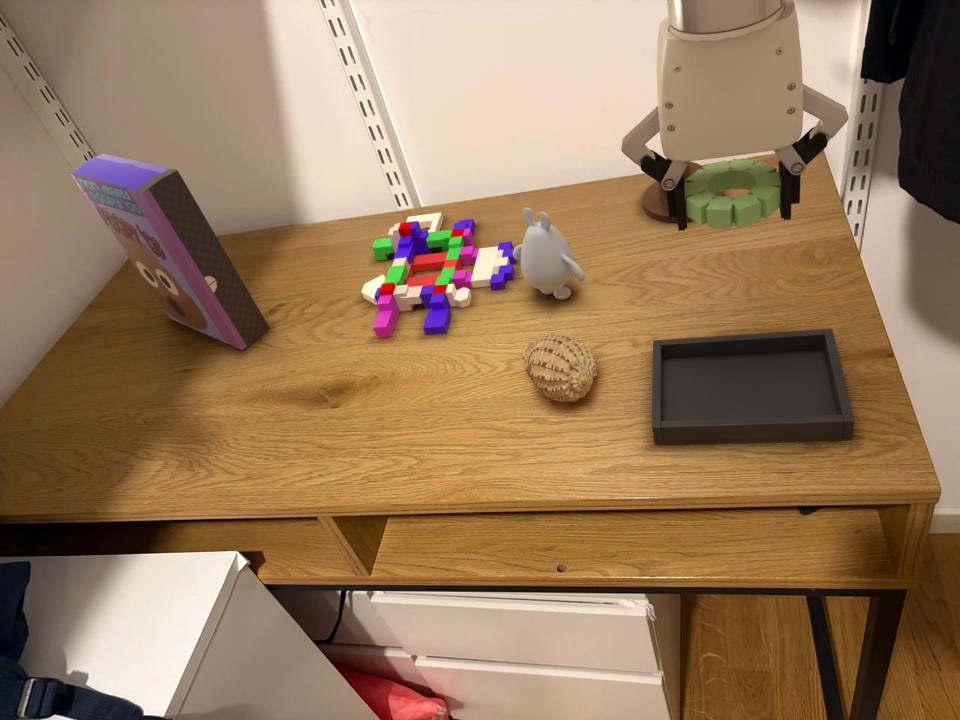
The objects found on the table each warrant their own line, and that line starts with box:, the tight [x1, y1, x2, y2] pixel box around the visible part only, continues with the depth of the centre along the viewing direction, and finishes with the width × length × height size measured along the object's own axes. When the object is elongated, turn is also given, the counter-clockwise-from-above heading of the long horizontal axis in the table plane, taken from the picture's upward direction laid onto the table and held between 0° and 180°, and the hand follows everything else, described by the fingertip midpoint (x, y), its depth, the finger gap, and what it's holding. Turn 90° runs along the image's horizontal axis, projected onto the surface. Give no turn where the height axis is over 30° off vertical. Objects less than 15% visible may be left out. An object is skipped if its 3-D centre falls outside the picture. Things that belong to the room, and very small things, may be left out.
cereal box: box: [69, 153, 271, 352], centre depth 94 cm, size 17×5×24 cm, turn 53°
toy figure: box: [513, 206, 586, 300], centre depth 84 cm, size 11×6×12 cm, turn 47°
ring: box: [685, 158, 781, 230], centre depth 60 cm, size 7×8×2 cm
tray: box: [651, 328, 855, 446], centre depth 69 cm, size 17×12×2 cm
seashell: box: [521, 334, 598, 403], centre depth 77 cm, size 8×6×10 cm
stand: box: [642, 161, 724, 224], centre depth 93 cm, size 10×10×7 cm
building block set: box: [360, 212, 518, 339], centre depth 96 cm, size 25×20×4 cm
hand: (732, 214), depth 62 cm, fingers closed on ring, 7 cm apart
